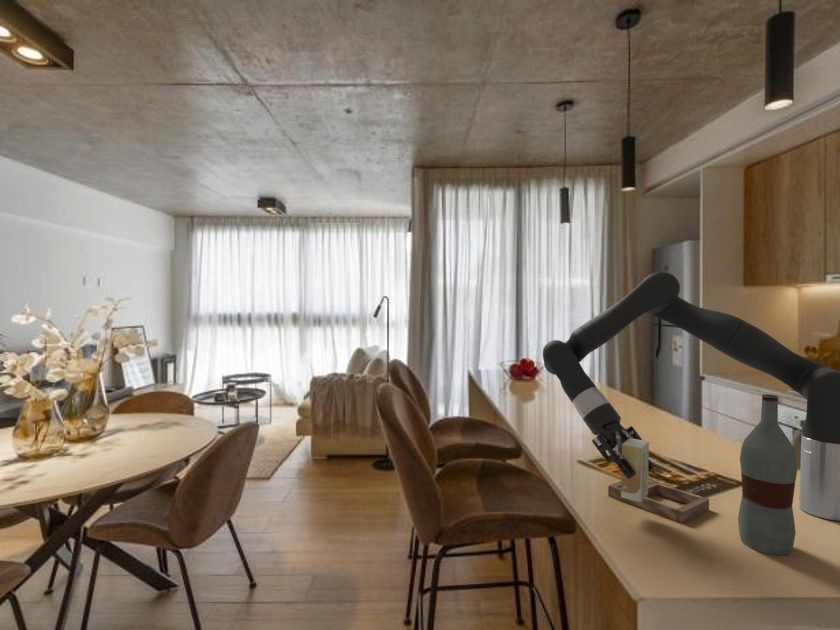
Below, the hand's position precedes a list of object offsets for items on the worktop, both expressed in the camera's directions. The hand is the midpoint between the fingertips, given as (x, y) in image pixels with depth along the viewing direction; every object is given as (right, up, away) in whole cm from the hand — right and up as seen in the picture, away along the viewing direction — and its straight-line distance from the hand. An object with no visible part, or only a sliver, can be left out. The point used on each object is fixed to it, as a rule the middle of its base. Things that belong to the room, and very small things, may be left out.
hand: (641, 473), depth 106 cm
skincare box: (-1, -6, +1) cm, 6 cm away
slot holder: (+8, -10, +9) cm, 16 cm away
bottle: (+20, -11, -10) cm, 25 cm away
